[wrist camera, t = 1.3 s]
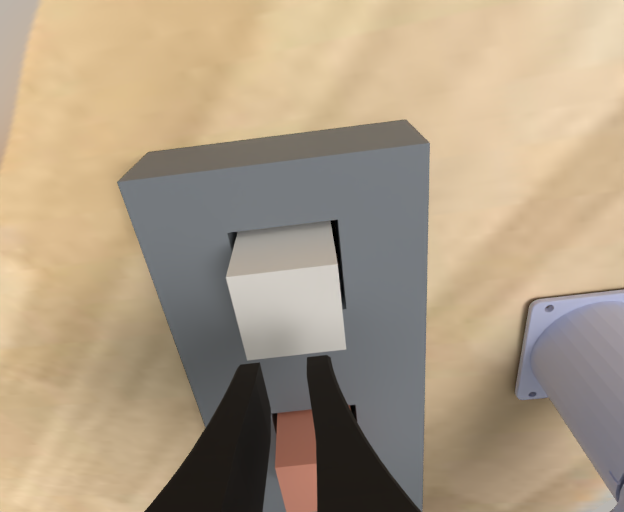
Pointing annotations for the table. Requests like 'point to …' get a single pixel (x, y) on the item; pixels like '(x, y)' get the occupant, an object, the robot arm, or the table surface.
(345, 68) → the table surface
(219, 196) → the button panel
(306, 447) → the terracotta button
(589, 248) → the table surface
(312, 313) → the white cube
